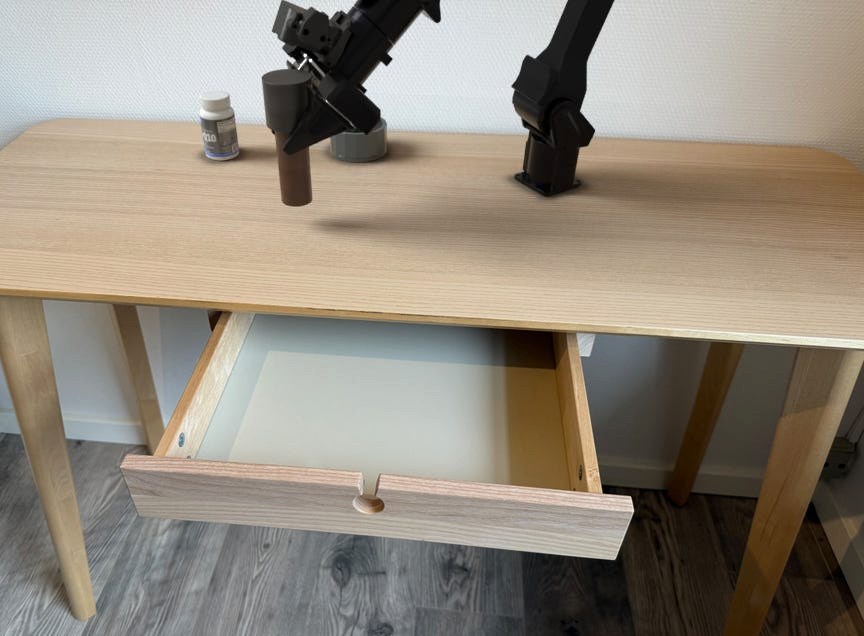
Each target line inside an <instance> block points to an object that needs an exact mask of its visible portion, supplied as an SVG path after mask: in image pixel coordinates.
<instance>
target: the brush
mask: <svg viewBox="0 0 864 636" xmlns="http://www.w3.org/2000/svg"><path fill="white" fill-rule="evenodd" d="M307 85H309V86H310V87H311V88H312V76H311V74H310V73H308V72H306V71H303V70H298V69H288V68H282V69H274V70H270V71H268V72H266V73H264V74H263V75H261V86H262V96H263V105H264V114H265V124H266V127H267V128H268V129H269V130H270V131H271V130H273V131H275V135H274V139H275V140H274V141H275V148H276V158H277V169H278V178H279V188H280V189H279V190H280V198H281V199H280V200H281V202H282V204H283V205H285V206H287V207H293V208H298V207H304V206H308V205H309V204H311V203H312V202H313V199H314V198H313V184H312V172H311V157H310V147H308V148H305V149H303V150H301V151H299V152H297V153H295V154H292V155H288V154H286V153H285V152H284V151H283V149H282V148H283V146H284V144H285V142H286V140H287V138H288V137H289V135H290V133H291V132H292V130H293V129H294V127H295V125H296V124H297V122H298V121H299V119H300V117H301V116H302V114H303V112H304V111H305V109H306V108H307V105H308V99H307Z"/></svg>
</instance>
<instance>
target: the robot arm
mask: <svg viewBox="0 0 864 636" xmlns="http://www.w3.org/2000/svg"><path fill="white" fill-rule="evenodd" d="M614 3H615V0H566V3H565V6H564V8H563V11H562V12H561V15H560V17H559V20H558V23H557V24H556V27H555V30H554V31H553V34H552V36H551V39H550V41H549V43H548V45H547V46H546V48H544V49H543V50H542V51H541V52H540V53H539V54H538V55H537V56H536V57H533V56H531V55H530V54H526V55H525V56H524V58H523V59H522V62H521V66H520V70H519V73H518V75H517V76H516V79H515V80H514V82H513V83H512V84H511V88H512V89H513V95H512V96H511V97H512V98H511V104H512V105H513V109H514V112H515V113H516V114H517V115H518V117H520V121H521V125H522V127H523V128H524V129H527V130H528V136H527V140H526V141H525V147H524V153H523V154H524V155H523V163H522V171H521V172H517V173H514V175H513V179H514V180H515V181H518V182H519V183H521V184H523V185H525V186H526V187H528V188H530V189H532V190H534V191H535V192H537V193H538V194H541V195H542V196H552V195H555V194H558V193H561V192H564V191H567V190H570V189H574V188H577V187H580V186H582V185H583V180H582V179H579V178H578V177H576V171H577V165H578V160H579V154H580V149H582V148H587V147H589V145H590V143H591V141H592V139H593V137H594V136H595V133H596V129H595V128H594V126H593V124H592V123H590V121H589V120H588V119H587V118H586V117H585V115H584V114H583V113H582V111H581V110H582V108H583V107H582V106H583V103H584V101H585V98H586V95H587V91H588V63H589V62H588V61H589V58H590V56H591V54H592V52H593V49H594V47H595V45H596V43H597V40H598V39H599V37H600V34H601V32H602V29H603V28H604V25H605V23H606V20H607V18H608V16H609V14H610V12H611V9H612V7H613V5H614ZM441 13H442V12H441V0H356V1H355V3H354V4H353V6H351V8H349V10H348V11H347V13H346V12H345V11H344V10H342V9H340V11H339V10H337V11H335V13H333V15H332V17H330V16H329V15H328V14H327V13H326V12H324V11H319V10H317V9H316V8H315V7H313V6H309V7H308V8H304V7H301V6H299V5H297V4H294V3H292V2H290V1H287V0H281V1H280V4H279V7H278V10H277V13H276V16H275V20H274V22H273V25H272V29H271V32H272V33H273V34H276V35H277V36H276V37H277V39H278V40H279V41H280V42H282V43H284V44H283V46H282V47H281V49H282V50H283V51H284V53H285V54H286V55H287V56H288V57H289V58H291V59H293V60H294V62H293V63H292V62H291V61H290V60H288V59H286V60H285V61H286V63H285V64H286V67H287V69H298V70H303V71H306V72H308V73H310V74H311V76H312V88H311V87H310V86H309V85H307V99H308V105H307V108H306V109H305V111H304V112H303V114H302V116H301V117H300V119H299V121H298V122H297V124H296V125H295V127H294V129H293V130H292V132H291V133H290V135H289V137H288V138H287V140H286V142H285V144H284V146H283V148H282V149H283V151H284V152H285V153H286V154H288V155H292V154H295V153H297V152H299V151H301V150H303V149H305V148H308V147H309V148H310V147H312V146H314V145H316V144H319V143H321V142H323V141H325V140H328V139H330V137H332V136H335V135H338V134H340V133H343V132H345V131H348V130H351V131H353V130H355V129H356V128H355V127H354V126H353V124H354V125H355V126H356V127H358V128H359V129H360V130H361V131H362V132H363V133H364V134H366V135H367V136H368V137H369V136H370V135H371V134H372V132H373V131H374V130H375V129H376V128H377V126H378V125H379V124H380V123H381V118H382V110H381V108H379V107H378V105H377V104H376V103H374V101H372V99H371V98H370V97H369V96H368V95H367V94H366V93H367V91H368V89H366V87H365V86H364V84H365V83H366V81H367V80H368V78H369V77H370V76H371V75H372V74H373V72H374V71H375V70H376V69H377V67H379V65H381V63H382V64H383V65H384V66H385V67H388V66H389V65H390V64H391V62H392V61H393V60H394V58H393V57H392V56H391V55H390V54H389V53H390V52H391V51H392V49H393V48H394V47H395V46H396V44H397V43H398V42H399V41H400V40H401V39H402V37H403V36H404V35H405V33H406V32H407V31H408V30H409V29H410V27H412V25H413V24H414V22H415V21H416V20H417V19H418V17H419V16H420V15H423V16H424V17H426V18H427V19H429V20H430V21H432V22H433V23H435V24H439V23H441V21H442V14H441ZM351 122H352V123H353V124H352V123H351ZM270 132H271V133H272V134H273V135H274V136H275V131H273V130H271V129H270Z"/></svg>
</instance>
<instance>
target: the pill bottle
mask: <svg viewBox="0 0 864 636" xmlns="http://www.w3.org/2000/svg"><path fill="white" fill-rule="evenodd" d="M199 105H200V107H201V108H200V110H199V113H198V114H199V115H198V116H199V121H200V127H201V133H202V140H203V147H204V152H205V155H206V157H207V158H208V159H210V160H212V161H227V160H231V159H234V158H236V157H237V156H239V154H240V147H239V146H240V145H239V138H238V130H237V123H236V113H235V110H234V108H233V107H232V106H231V97H230V93H229V92H228V91H226V90H223V89H222V90H221V89H211V90H210V89H209V90H206V91H203V92H201V93H200V94H199Z"/></svg>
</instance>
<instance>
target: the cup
mask: <svg viewBox="0 0 864 636" xmlns="http://www.w3.org/2000/svg"><path fill="white" fill-rule="evenodd" d="M351 123H352V122H351ZM352 124H353V123H352ZM353 126H354V127H355V128H356V129H355V130H353V131H351V130H348V131H345V132H343V133H340V134H338V135H335V136H332V137H330V138H329V149H330V154H331V155H332V157H334V158H335V159H337V160H340V161H344V162H347V163H348V162H349V163H366V162H368V163H369V162H373V161H376V160H379V159H381V158H382V157H384V156H385V155H386V154H387V147H388V123H387V121H386V119H385V118H383V117H381V123H380V124H379V125H378V126H377V128H376V129H375V130H374V131H373V132H372V134H371V135H370V136H369V137H368V136H367V135H366V134H364V133H363V132H362V131H361V130H360V129H359V128H358V127H356V126H355V125H354V124H353Z"/></svg>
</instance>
